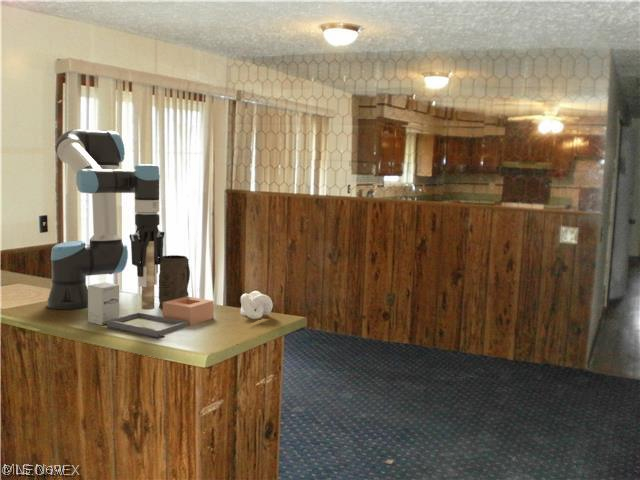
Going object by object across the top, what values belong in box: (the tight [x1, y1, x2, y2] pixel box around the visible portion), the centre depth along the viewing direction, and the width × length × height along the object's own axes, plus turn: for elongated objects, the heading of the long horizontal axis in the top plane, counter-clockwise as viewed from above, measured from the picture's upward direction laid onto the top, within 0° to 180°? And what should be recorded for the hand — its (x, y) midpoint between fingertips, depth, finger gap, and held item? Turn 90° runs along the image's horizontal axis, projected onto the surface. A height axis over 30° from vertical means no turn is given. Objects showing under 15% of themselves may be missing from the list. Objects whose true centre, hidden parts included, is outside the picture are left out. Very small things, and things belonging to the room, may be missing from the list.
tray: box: [106, 311, 189, 340], centre depth 207 cm, size 22×14×2 cm, turn 61°
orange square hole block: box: [162, 295, 215, 326], centre depth 216 cm, size 12×12×7 cm
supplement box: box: [87, 282, 120, 326], centre depth 213 cm, size 7×7×13 cm
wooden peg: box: [141, 241, 155, 311], centre depth 204 cm, size 4×4×22 cm
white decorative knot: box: [240, 290, 274, 320], centre depth 223 cm, size 11×12×9 cm
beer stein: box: [158, 254, 191, 310], centre depth 235 cm, size 15×11×20 cm
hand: (147, 285), depth 205 cm, fingers closed on wooden peg, 4 cm apart
